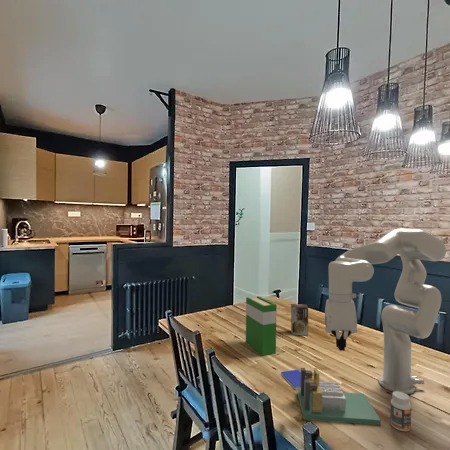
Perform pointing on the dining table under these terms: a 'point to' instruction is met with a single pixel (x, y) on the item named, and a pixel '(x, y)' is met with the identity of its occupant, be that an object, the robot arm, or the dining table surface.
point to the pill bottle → (400, 411)
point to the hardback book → (261, 325)
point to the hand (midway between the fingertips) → (341, 349)
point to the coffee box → (299, 319)
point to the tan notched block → (316, 392)
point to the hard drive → (292, 378)
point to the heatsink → (332, 397)
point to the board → (355, 411)
